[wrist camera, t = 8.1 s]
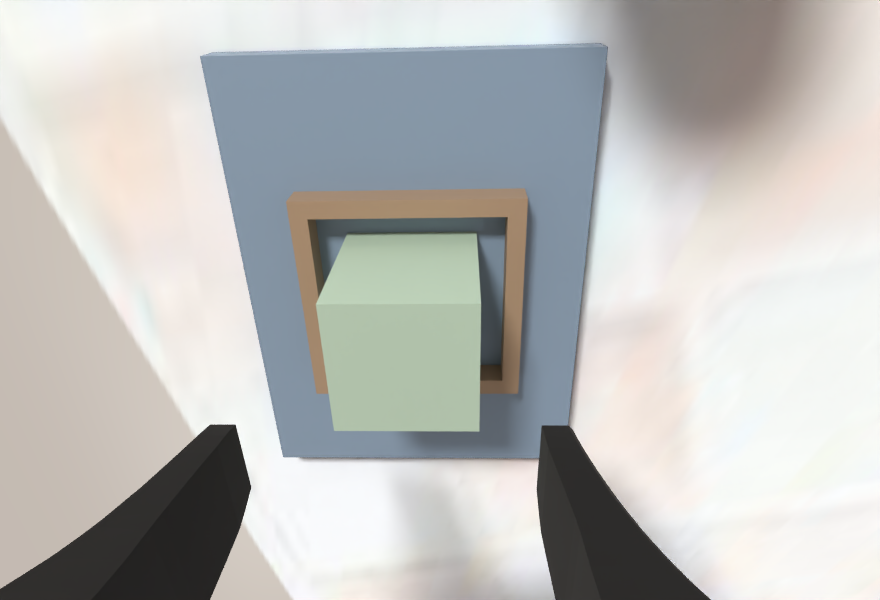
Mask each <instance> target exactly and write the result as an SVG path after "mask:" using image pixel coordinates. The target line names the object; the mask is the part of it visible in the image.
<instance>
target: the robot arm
mask: <svg viewBox="0 0 880 600" xmlns="http://www.w3.org/2000/svg"><path fill="white" fill-rule="evenodd" d="M250 490H251V485H250V481H249V477H248V473H247V469H246V465H245V461H244V457H243V453H242V449H241V445H240V441H239V437H238V433H237V429H236V425H209V426H208V427H207V428H206V429H205V430H204V431H202V432H201V433H200V434H199V435H198V436H197V437H196V438H195V439H194V440H193V441H192V442H190V443H189V444H188V445H187V446H186V447H185V448H184V449H183V450H182V451H181V452H180V453H179V454H178V455H176V456H175V457H174V458H173V459H172V460H171V461H170V462H169V463H168V464H167V465H165V466H164V467H163V468H162V469H161V470H160V471H159V472H158V473H157V474H156V475H154V476H153V477H152V478H151V479H150V480H149V481H148V482H147V483H145V484H144V485H143V486H142V487H141V488H140V489H139V490H137V491H136V492H135V493H134V494H132V495H131V496H130V497H129V498H128V499H126V500H125V501H124V502H123V503H122V504H121V505H119V506H118V507H117V508H116V509H114V510H113V511H112V512H111V513H109V514H108V515H107V516H106V517H105V518H103V519H102V520H101V521H100V522H98V523H97V524H96V525H94V526H93V527H92V528H91V529H89V530H88V531H86V532H85V533H84V534H83V535H81V536H80V537H78V538H77V539H76V540H74V541H73V542H71V543H70V544H69V545H67V546H66V547H64V548H63V549H61V550H60V551H59V552H57V553H56V554H54V555H53V556H51V557H50V558H49V559H47V560H45V561H44V562H42V563H41V564H39V565H37V566H36V567H34V568H33V569H31V570H30V571H28V572H26V573H25V574H23V575H22V576H20V577H19V578H17V579H15V580H14V581H12V582H11V583H9V584H7V585H6V586H4V587H3V588H1V589H0V600H210V598H211V595H212V594H213V591H214V589H215V587H216V584H217V582H218V580H219V577H220V575H221V572H222V570H223V568H224V565H225V563H226V561H227V558H228V556H229V553H230V551H231V548H232V546H233V544H234V541H235V539H236V537H237V534H238V532H239V529H240V526H241V523H242V519H243V516H244V512H245V509H246V505H247V501H248V498H249V494H250ZM537 497H538V508H539V517H540V526H541V534H542V538H543V543H544V548H545V553H546V557H547V562H548V567H549V571H550V576H551V581H552V585H553V590H554V594H555V599H556V600H711V599H709V598H708V597H707V596H706V595H705V594H704V593H703V592H702V591H701V590H699V589H698V588H697V587H696V586H695V585H694V584H693V583H692V582H691V581H690V580H689V579H688V578H687V577H686V576H685V575H684V574H683V573H682V572H681V571H680V570H679V569H678V568H677V567H676V566H675V565H674V564H673V563H672V562H671V561H670V560H669V559H668V558H667V557H666V556H665V555H664V554H663V553H662V552H661V551H660V549H659V548H658V547H657V546H656V545H655V544H654V543H653V542H652V541H651V539H650V538H649V537H648V536H647V535H646V534H645V533H644V531H643V530H642V529H641V528H640V527H639V525H638V524H637V523H636V522H635V520H634V519H633V518H632V517H631V516H630V514H629V513H628V512H627V511H626V509H625V508H624V507H623V505H622V504H621V503H620V502H619V500H618V499H617V497H616V496H615V495H614V493H613V492H612V491H611V489H610V488H609V486H608V485H607V484H606V482H605V481H604V480H603V478H602V477H601V475H600V474H599V472H598V471H597V469H596V468H595V466H594V465H593V463H592V462H591V460H590V458H589V457H588V455H587V454H586V452H585V451H584V449H583V447H582V446H581V444H580V442H579V440H578V439H577V437H576V435H575V433H574V431H573V430H572V429H571V428H570V427H569V426H568V425H542V427H541V440H540V453H539V466H538V479H537Z"/></svg>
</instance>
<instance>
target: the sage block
mask: <svg viewBox="0 0 880 600" xmlns="http://www.w3.org/2000/svg"><path fill="white" fill-rule="evenodd" d="M316 309H317V316H318V323H319V330H320V337H321V344H322V351H323V358H324V365H325V372H326V379H327V386H328V393H329V400H330V407H331V413H332V420H333V427H334V431H479V421H480V348H481V294H480V278H479V262H478V247H477V232H376V233H347V235H346V238H345V240H344V242H343V244H342V247H341V249H340V251H339V253H338V256H337V258H336V260H335V262H334V265H333V267H332V269H331V271H330V274H329V276H328V278H327V280H326V283H325V285H324V287H323V289H322V292H321V294H320V296H319V298H318V301H317V303H316Z"/></svg>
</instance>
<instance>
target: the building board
mask: <svg viewBox="0 0 880 600" xmlns="http://www.w3.org/2000/svg"><path fill="white" fill-rule="evenodd" d="M607 50H608V47H607V46H605V45H603V44H601V43H596V44H553V45H511V46H469V47H426V48H384V49H342V50H299V51H257V52H214V53H209V54H206V55H203V56H200V58H201V63H202V68H203V73H204V78H205V82H206V87H207V92H208V97H209V102H210V106H211V111H212V116H213V121H214V126H215V131H216V135H217V140H218V145H219V150H220V155H221V159H222V164H223V169H224V174H225V179H226V184H227V188H228V193H229V198H230V203H231V208H232V213H233V217H234V222H235V227H236V232H237V237H238V241H239V246H240V251H241V256H242V261H243V266H244V270H245V275H246V280H247V285H248V290H249V294H250V299H251V304H252V309H253V314H254V319H255V323H256V328H257V333H258V338H259V343H260V347H261V352H262V357H263V362H264V367H265V372H266V376H267V381H268V386H269V391H270V396H271V401H272V405H273V410H274V415H275V420H276V425H277V429H278V434H279V439H280V444H281V449H282V454H283V457H357V458H539V453H540V440H541V427H542V425H568V420H569V411H570V401H571V392H572V382H573V373H574V363H575V354H576V344H577V335H578V325H579V316H580V306H581V297H582V287H583V278H584V268H585V259H586V249H587V240H588V230H589V221H590V211H591V202H592V192H593V183H594V174H595V164H596V155H597V145H598V136H599V126H600V117H601V107H602V98H603V88H604V79H605V69H606V60H607ZM376 232H477V247H478V262H479V278H480V294H481V348H480V421H479V431H334V427H333V420H332V413H331V407H330V400H329V393H328V386H327V379H326V372H325V365H324V358H323V351H322V344H321V337H320V330H319V323H318V316H317V309H316V303H317V301H318V298H319V296H320V294H321V292H322V289H323V287H324V285H325V283H326V280H327V278H328V276H329V274H330V271H331V269H332V267H333V265H334V262H335V260H336V258H337V256H338V253H339V251H340V249H341V247H342V244H343V242H344V240H345V238H346V235H347V233H376Z"/></svg>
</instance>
